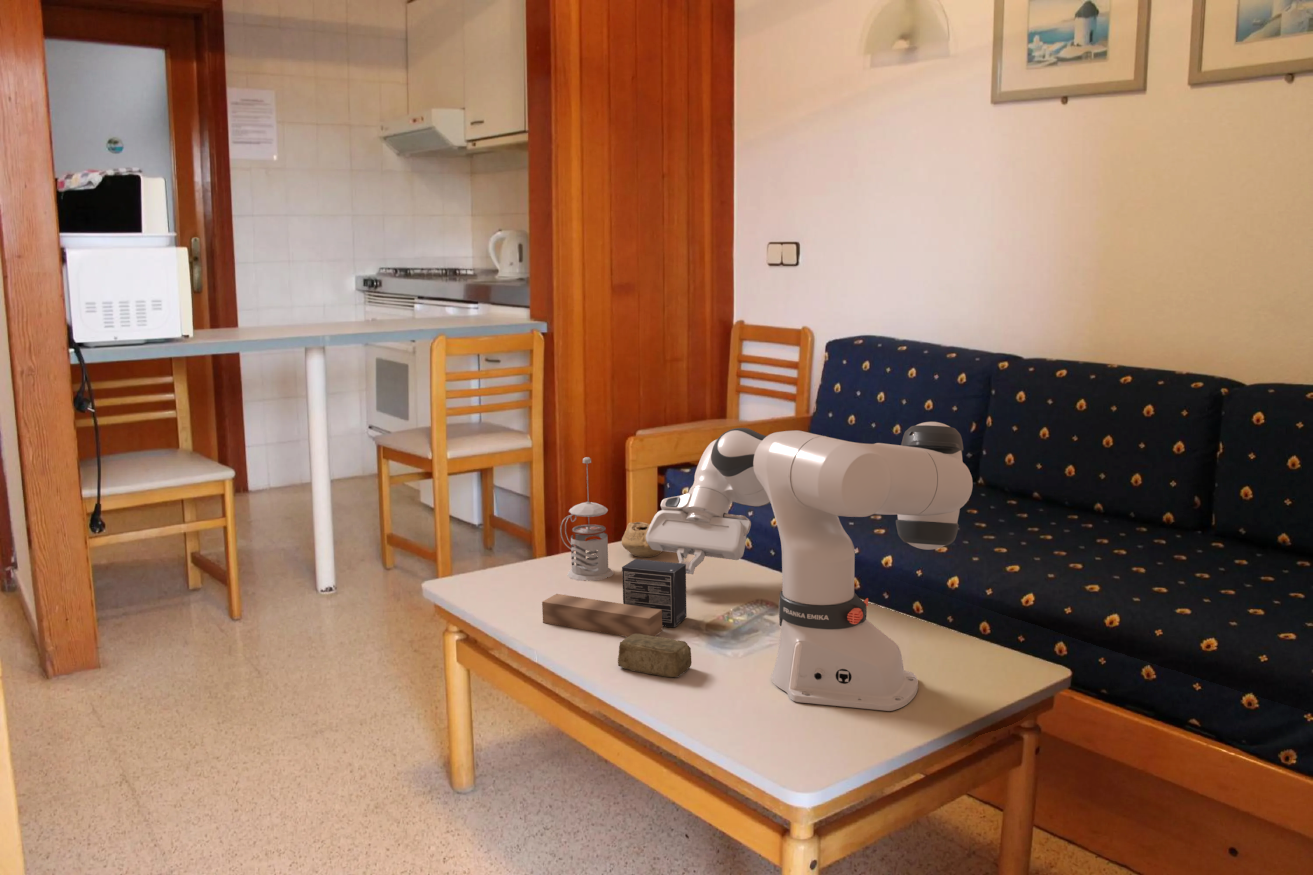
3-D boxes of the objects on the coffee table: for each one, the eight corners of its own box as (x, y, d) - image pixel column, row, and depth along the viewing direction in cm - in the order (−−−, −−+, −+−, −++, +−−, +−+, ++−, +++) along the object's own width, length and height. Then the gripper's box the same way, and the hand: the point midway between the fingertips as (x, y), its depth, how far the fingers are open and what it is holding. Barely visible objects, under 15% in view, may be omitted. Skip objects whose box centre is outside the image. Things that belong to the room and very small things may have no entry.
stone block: (678, 681, 170) (678, 651, 169) (614, 670, 175) (613, 641, 175) (693, 668, 175) (693, 639, 175) (631, 658, 181) (630, 629, 180)
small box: (688, 616, 199) (687, 562, 197) (675, 628, 193) (674, 572, 192) (636, 610, 203) (635, 556, 201) (622, 621, 197) (620, 566, 196)
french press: (597, 583, 220) (593, 463, 215) (550, 575, 226) (546, 458, 221) (622, 570, 228) (619, 454, 224) (576, 563, 234) (573, 450, 230)
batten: (662, 631, 192) (661, 609, 191) (649, 640, 188) (649, 618, 187) (557, 614, 202) (556, 593, 201) (542, 622, 198) (542, 601, 197)
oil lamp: (645, 541, 250) (644, 508, 249) (682, 556, 238) (681, 521, 236) (604, 549, 244) (603, 515, 243) (640, 565, 232) (639, 529, 230)
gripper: (757, 524, 213) (738, 586, 206) (665, 514, 222) (644, 573, 215) (749, 508, 208) (729, 570, 202) (655, 498, 218) (633, 558, 211)
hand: (684, 572), depth 209 cm, fingers closed
